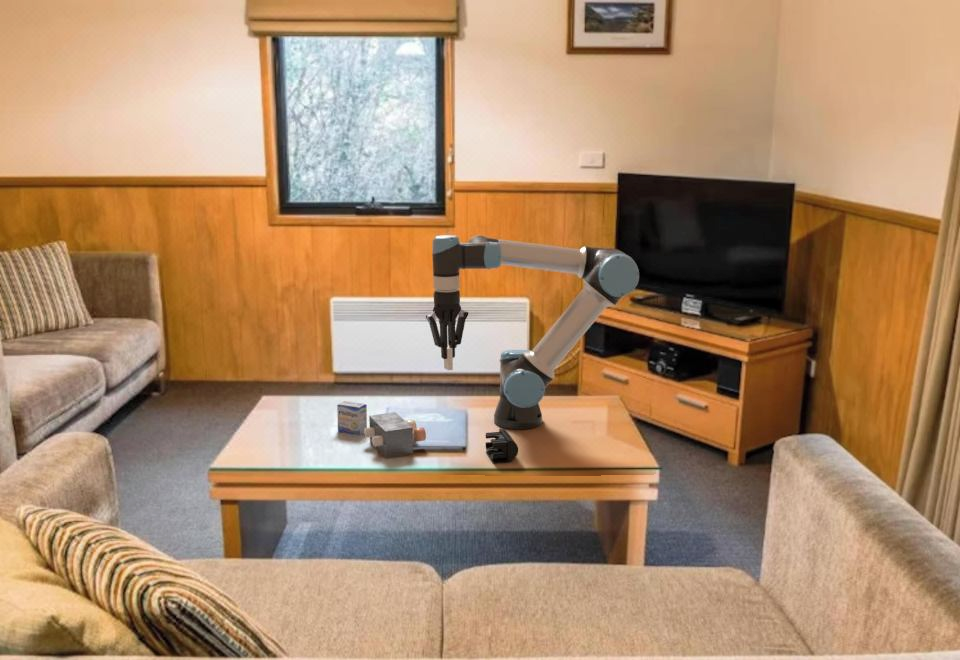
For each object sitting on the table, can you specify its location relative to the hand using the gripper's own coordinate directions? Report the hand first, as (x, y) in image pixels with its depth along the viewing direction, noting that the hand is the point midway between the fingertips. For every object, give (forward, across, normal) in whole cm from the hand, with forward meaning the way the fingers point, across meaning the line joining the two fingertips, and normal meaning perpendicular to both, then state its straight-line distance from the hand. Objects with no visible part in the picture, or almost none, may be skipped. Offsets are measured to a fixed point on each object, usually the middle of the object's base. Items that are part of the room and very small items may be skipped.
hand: (448, 368), depth 251 cm
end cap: (+22, -6, +21) cm, 31 cm away
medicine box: (+21, +24, -18) cm, 37 cm away
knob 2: (+19, +18, +3) cm, 26 cm away
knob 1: (+19, +17, -4) cm, 26 cm away
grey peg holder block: (+21, +19, 0) cm, 28 cm away
